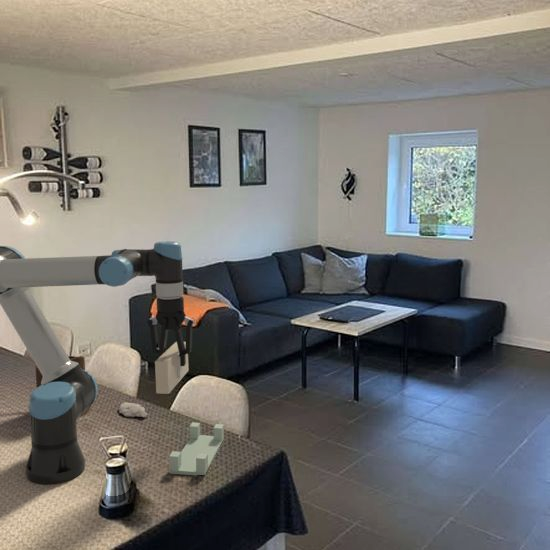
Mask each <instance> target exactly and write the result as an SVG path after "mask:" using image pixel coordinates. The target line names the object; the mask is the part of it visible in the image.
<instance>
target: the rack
mask: <svg viewBox="0 0 550 550" xmlns="http://www.w3.org/2000/svg"><path fill="white" fill-rule="evenodd" d="M223 440H224V441H225V424H222V423H215V425H214V427H213V435H206V434H201V422H196V421H195V422H193V421H192V422H191V423H190V425H189V439H188V441H187V442H186V443H185V445H184V446H183V448H182V450H181V451H177V450H173V451H171V453H170V455H169V456H168V460H169V461H168V462H169V463H168V464H169V465H168V467H169V469H168V470H169V471H168V472H169V474H172V475H174V474H175V475H184V476H185V475H186V476H187V475H188V476H197V475H205V474H206V472H207V470H208V468H209V466H210V464H211V462H212V461H213V462H214V460H215V458H216V456H217V454H218V452H219V450H220V448H221V446H222V445H221V443H222V441H223ZM224 441H223V442H224ZM222 444H223V443H222ZM220 445H221V446H220ZM219 447H220V448H219ZM218 449H219V450H218ZM217 451H218V452H217ZM216 453H217V454H216ZM215 455H216V456H215ZM214 457H215V458H214ZM213 459H214V460H213ZM213 462H212V463H213ZM211 465H212V464H211ZM210 467H211V466H210ZM209 469H210V468H209ZM208 471H209V470H208ZM207 473H208V472H207ZM206 475H207V474H206Z"/></svg>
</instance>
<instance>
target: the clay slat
mask: <svg viewBox="0 0 550 550" xmlns="http://www.w3.org/2000/svg"><path fill="white" fill-rule="evenodd" d="M184 345H185V349H186V341H184ZM165 351H166V352H165V353H164V354H162V355H161V356H160V357H158V358H157V359H156V360H155V361H154V368H155V370H154V371H155V373H154V374H155V390H156V391H155V392H156V393H155V394H161V395H162V394H163V395H164V394H165V395H167V394H168V395H169V394H171V392H172V391H173V390H174V389H175V387H176V386H177V385H178V384H179V382H180V381H181V380H182V379H183V378H184V377H185V376H186V375H187V373H188V372H190V371H189V354H186V364H185V366H183V376H182V377H181V378H178V370H177V356H178V355H179V350H178V345H177V341H175V342H174V343H173V344H172V345H171V346H170V347H169V348H168V349H166V350H165Z"/></svg>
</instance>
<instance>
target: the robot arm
mask: <svg viewBox="0 0 550 550" xmlns="http://www.w3.org/2000/svg"><path fill="white" fill-rule="evenodd" d="M154 276H155V294H156V295H155V296H156V297H157V298H156V315H155V316H154V317H150V318H148V319H147V320H146V321H147V324H148V327H149V330H150V331H149V332H150V340H151V341H150V342H151V349H152V350H151V351H152V353H153V354H157V355H158V356H159V357H160V356H161V355H162V354H164V353H165V352H166V351H167V340H168V335H169V334H168V333H169V330H173V333H174V334H175V335H174V336H175V340H176V341H175V342H177V345H178V350H179V355H178V356H177V370H178V378H181V377H182V376H183V366H185V364H186V354H188V355H190V353H191V352H192V350H193V326H194V323H195V321H196V320H195V318H190V317H189V316H186V313H185V305H184V297H183V295H184V281H183V280H184V279H183V278H184V277H183V255H182V246H181V243H180V242H178V241H170V240H168V241H157V242H155V243H154V244H153V248H151V249H150V248H149V249H144V248H143V249H142V248H141V249H135V248H133V249H127V248H122V249H115V250H113V251H112V253H111V254H110V255H108V254H107V255H88V256H84V255H83V256H64V257H63V256H62V257H61V256H60V257H33V258H32V257H31V258H30V257H29V258H28V257H27V258H26V257H25V256H24V255H23V253H22V252H21V251H19V250H18V249H16V248H14V247H11V246H8V245H0V306H1V308H2V309H3V311H4V312H5V315H6V317H7V318H8V319H9V321H10V323H11V325H12V326H13V328H14V330H15V331H16V333H17V334H18V335H17V336H19V339H20V340H21V341H22V343H23V345H24V347H25V348H26V350H27V351H28V353H29V355H30V357H31V359H32V360H33V362H34V364H35V365H37V367H38V369H39V370H40V372H41V374H42V376H43V378H42V381H41V386H39V387H37V386H36V388H34V389H33V390H32V391H31V393H30V395H29V399H28V400H29V401H28V402H29V404H28V411H29V423H30V425H29V426H30V437H31V438H30V440H31V448H30V453H29V455H28V459H27V463H26V466H25V472H26V473H25V477H26V478H27V479H28V480H29V481H30V482H32V483H34V484H39V485H40V484H41V485H52V484H53V485H55V484H60V483H64V482H67V481H69V480H73V479H74V478H76V477H78V476H80V475H81V474H82V473H83V472H84V471H85V468H86V462H85V461H86V460H85V456H84V454H83V451H82V449H81V447H80V446H81V445H80V444H79V442H78V430H77V427H78V426H77V421H78V420H79V418H81V417H82V416H81V415H82V414H83V413H84V412H85V411H86V410H88V409H89V408H90V407H92V405H93V403H95V401H96V399H97V397H98V393H99V388H98V387H99V386H98V381H97V380H96V379H95V377H94V375H93V374H92V373H91V372H89V371H87V370H85V371H84V370H82V368H81V367H80V365H79V363H78V362H74V361H71V360H70V359H69V357H68V356H69V355H68V354H67V351H66V350H65V349H64V347H63V345H62V344H61V341H60V340H59V339H58V337H57V335H56V333H55V332H54V330H53V328H52V326H51V325H50V323H49V321H48V319H47V318H46V316H45V315H44V313H43V311H42V309H41V308H40V306H39V304H38V302H37V301H36V299H35V297H34V296H33V294H32V292H31V291H30V288H38V287H39V288H41V287H42V288H43V287H46V288H47V287H67V286H90V285H93V286H95V285H105V286H108V287H114V288H115V287H120V286H124V285H126V284H127V283H128V282H130V281H131V280H133V279H134V278H137V277H154ZM183 322H185V326H186V327H185V341H184V337H183V332H182V324H183ZM157 324H159V325H160V327H161V329H160V330H161V331H160V334H161V335H160V340H159V334H158V326H157ZM184 342H186V349H185V345H184ZM159 357H158V358H159ZM80 416H81V417H80Z"/></svg>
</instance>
